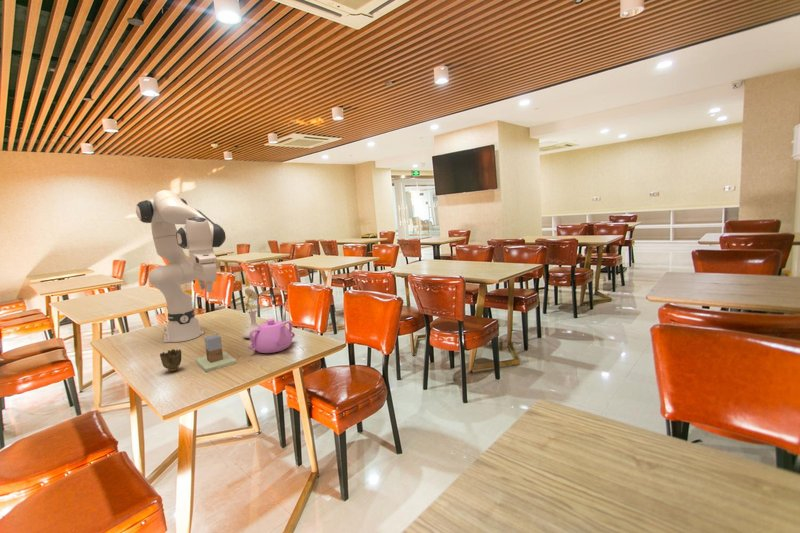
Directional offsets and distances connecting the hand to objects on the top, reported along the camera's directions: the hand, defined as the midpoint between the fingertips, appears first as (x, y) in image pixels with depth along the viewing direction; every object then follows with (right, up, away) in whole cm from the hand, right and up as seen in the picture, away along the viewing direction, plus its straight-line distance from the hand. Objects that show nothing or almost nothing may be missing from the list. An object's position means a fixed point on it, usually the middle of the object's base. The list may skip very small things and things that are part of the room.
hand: (206, 290), depth 153 cm
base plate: (+2, -31, +4) cm, 31 cm away
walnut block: (+1, -30, +4) cm, 30 cm away
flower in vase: (+5, -26, +37) cm, 46 cm away
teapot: (+23, -28, +16) cm, 40 cm away
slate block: (+1, -25, +4) cm, 25 cm away
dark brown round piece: (-12, -33, -2) cm, 35 cm away
